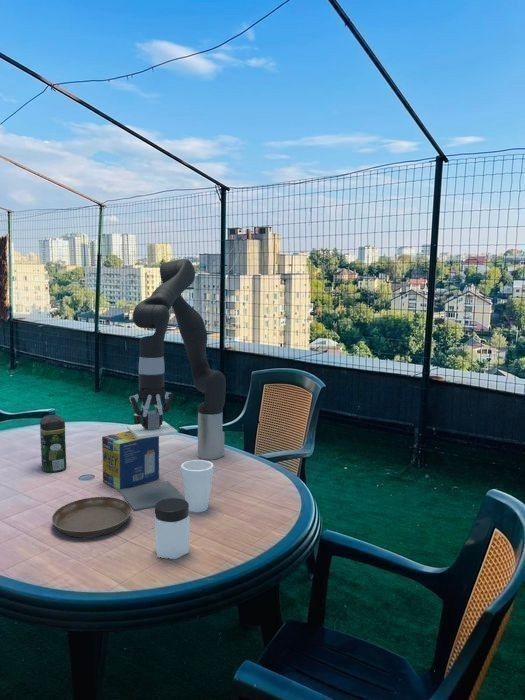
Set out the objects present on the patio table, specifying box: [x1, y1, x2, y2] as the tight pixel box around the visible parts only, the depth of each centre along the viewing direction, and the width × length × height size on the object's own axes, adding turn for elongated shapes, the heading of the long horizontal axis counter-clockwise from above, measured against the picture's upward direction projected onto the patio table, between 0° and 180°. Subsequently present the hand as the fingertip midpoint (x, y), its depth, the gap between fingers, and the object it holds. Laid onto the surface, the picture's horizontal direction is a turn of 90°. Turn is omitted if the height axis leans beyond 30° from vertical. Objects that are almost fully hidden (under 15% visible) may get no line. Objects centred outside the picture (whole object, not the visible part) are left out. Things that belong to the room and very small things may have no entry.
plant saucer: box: [51, 496, 133, 538], centre depth 144 cm, size 21×21×3 cm
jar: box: [154, 498, 191, 560], centre depth 130 cm, size 9×8×12 cm
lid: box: [126, 409, 178, 439], centre depth 159 cm, size 12×12×6 cm
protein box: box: [101, 430, 160, 492], centre depth 173 cm, size 10×15×16 cm
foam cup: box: [180, 459, 215, 513], centre depth 154 cm, size 10×9×13 cm
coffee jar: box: [39, 414, 67, 473], centre depth 183 cm, size 10×8×19 cm
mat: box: [118, 480, 185, 512], centre depth 163 cm, size 16×16×1 cm
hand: (151, 427), depth 160 cm, fingers closed on lid, 3 cm apart
